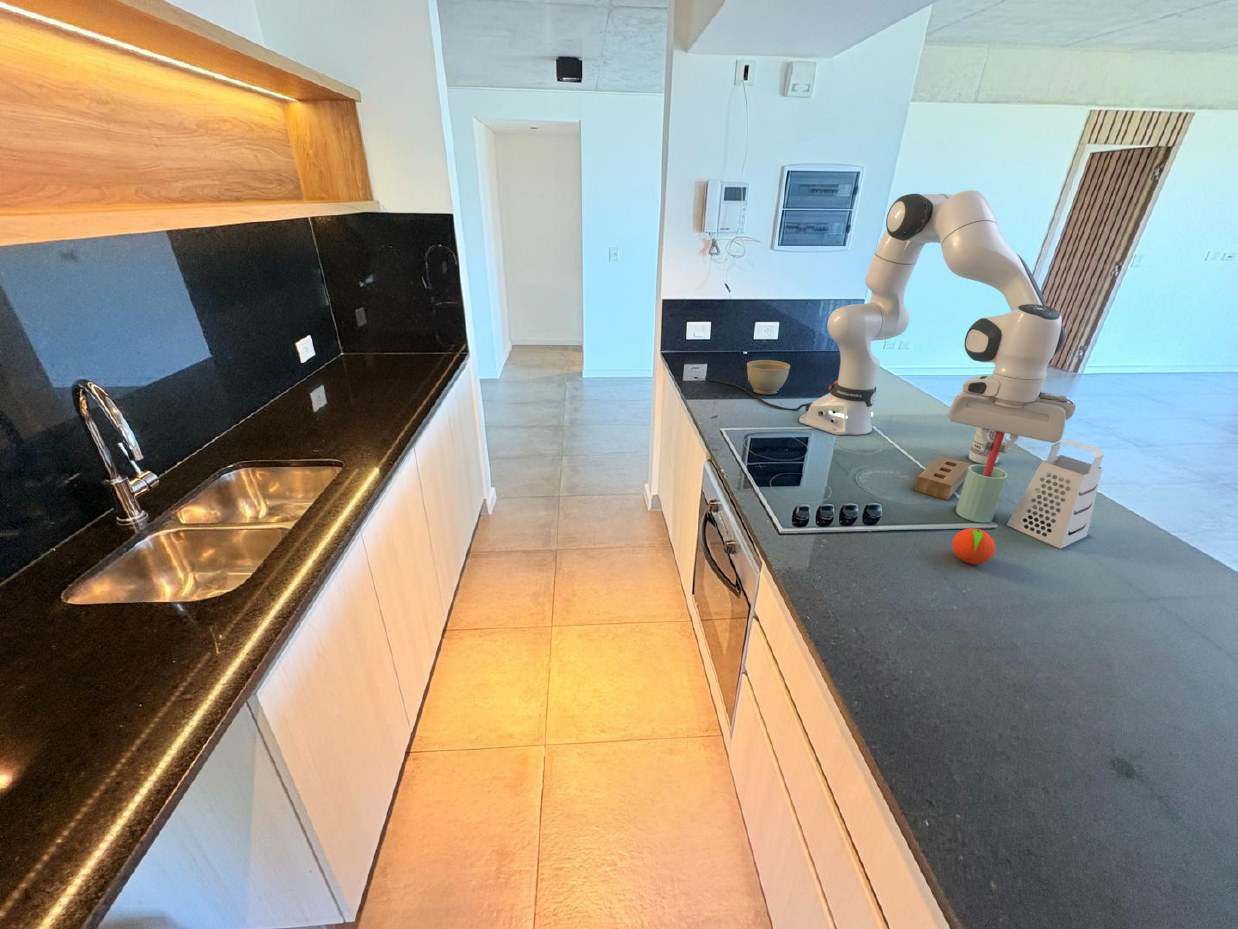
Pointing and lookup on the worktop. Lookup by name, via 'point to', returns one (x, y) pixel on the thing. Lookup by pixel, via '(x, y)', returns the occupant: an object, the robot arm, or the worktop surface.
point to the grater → (1060, 496)
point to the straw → (993, 454)
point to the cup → (980, 494)
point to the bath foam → (978, 451)
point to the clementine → (973, 546)
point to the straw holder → (942, 477)
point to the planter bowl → (767, 375)
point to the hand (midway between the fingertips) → (994, 450)
